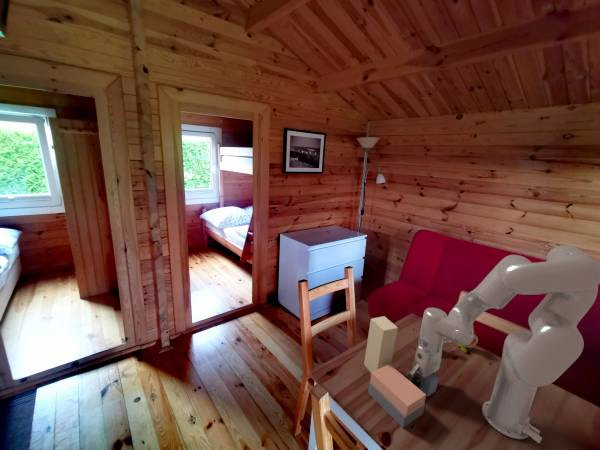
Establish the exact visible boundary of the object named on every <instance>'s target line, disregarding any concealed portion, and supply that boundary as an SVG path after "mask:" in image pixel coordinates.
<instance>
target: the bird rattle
mask: <svg viewBox="0 0 600 450" xmlns="http://www.w3.org/2000/svg"><path fill="white" fill-rule="evenodd" d="M473 332H474V338H473V341H472V342H471V343H470V344H468V345H459V344H456V347H461V348H460V350H461V351H462V352H463V353H464V352H465V353H467V348H469V349H472V348H473V347H475V346H476V345H477V344H478V342H479V338H478V336H477V335H476V333H475V328H473Z"/></svg>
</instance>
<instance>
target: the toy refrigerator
mask: <svg viewBox="0 0 600 450" xmlns="http://www.w3.org/2000/svg"><path fill="white" fill-rule="evenodd" d="M398 331H399V329H398V326H396V325H395V323H393V322H392V321H391V320H389V319H388V318H387V317H386V316H385V315H383V316H379V317H378V316H377V317H373V318H370V322H369V329H368V337H367V343H366V349H365V354H364V355H365V356H364V363H363V365H364V366H365V368H366V369H367V370H368V372H369V373H370V374H371V373H372V372H374V371H376V370H378V369H380V368H382V367H384V366H386V365H388V364H390V365H391V366H392V364H393V363H392V362H393V358H394V351H395V347H396V341H397V335H398Z"/></svg>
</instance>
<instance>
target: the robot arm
mask: <svg viewBox="0 0 600 450" xmlns="http://www.w3.org/2000/svg"><path fill="white" fill-rule="evenodd" d="M599 285H600V263H599V262H597V261H596V260H595V259H594V258H593V257H591V256H589V255H588V254H587V253H586V252H584V251H583V250H581V249H580V248H578V247H576V246H573V245H568V244H566V245H564V244H563V245H562V244H561V245H558V246H555V247H553V248H552V249H551V250H550V251H549V252H548V253H547V254H546V261H539V262H532V261H531V260H529V259H528V258H526V257H525V256H522V255H519V254H510V255H507V256H505V257H504V258H502V259H501V260H500V261H499V262H498V263H497V264H496V265H495V266H494V267H493V269H492V270H491V271H490V272H489V273H488V274H487V275H486V276H485V278H483V280H482V281H481V282H480V283H479V284H478V285H477V287H475V288H474V289H473V290H471V291H469V293H468V292H467V294H465V295H464V296H463V297H462V298H460V300H459V301H457V303H456V304H455V305H454V307H452V309H451V310H450V311H449V313H448V315H447V312H445V311H444V310H442V309H440V308H437V307H427V308H426V309H425V310H424V311H423V316H422V320H421V321H422V322H421V326H420V332H419V337H418V343H417V344H418V346H417V348H416V350H415V354H414V359H413V363H412V367H413V369H412V370H411V372H410V371H409V373H410V375H411V377H412V381H411V382H412V383H413V384H414V385H415V386H416V387H418V388H419V389H420V385H421V381H420V380H421V378H422V377H423V378H425V377H427V376H429V375H431V374H434V375H436V372H437V371H439V369H440V368H441V362H442V356H443V345H444V344H443V340H444V337H445V338H447V339H448V340H450V341H452V342H451V343H454V344H456V345H457V344H459V345H468V344H470V343H471V342H472V341H473V339H474V333H475V332H473V329H474V322H475V321H476V320H477V319H478V318H479V317H480V316H481V315H482V314H483V313H484V312H486V311H487V310H490V309H496V310H502V309H503V308H505V306H506V305H508V303H509V302H510V301H512V299H514V298H515V296H517V294H518V295H522V296H523V295H528V296H529V295H530V296H531V295H532V296H533V295H536V296H537V295H545V297H543V299H542V300H541V301H540V303H539V304H538V305H537V306H536V307H535V308H534V309H533V311H531V313H530V314H529V316H528V321H527V322H528V326H529V328H530V331H528V330H521V329H520V330H519V329H518V330H515V331H512V332H510V333H509V334H507V336H506V338H505V340H504V344H503V349H502V355H501V361H500V365H499V368H498V371H497V376H496V378H495V382H494V385H493V390H492V393H491V397H490V400H487V401H485V402H484V403H483V404H482V406H481V413H482V415H483V417H484V419H485V420H486V421H487V423H488V424H489V425H490V426H491V427H492V428H494V429H495V430H497V431H498V432H499V433H501V434H503V435H504V436H507V437H509V438H511V439H515V440H525V439H527V438H529V437H530V438H531V439H532V440H534V441H535V442H536V443H538V445H539V444H540V443H541V442H542V440H543V437H542V436H541V435H540V433H541V430H539V429H538V428H536V427H535V426H533V425H532V423H530V421H531V417H530V416H529V413H530V411H531V408H532V405H533V401H534V398H535V395H536V393H537V389H538V388H540V387H546V386H549V385H551V384H552V383H554V382H555V381H557V380H558V379H559V378H560V376H562V375H563V374H564V373H565V372H566V371H567V370H568V368H570V367H571V366H572V364H574V363H575V362H576V361H577V359H579V357H580V356H581V354H582V352H583V349H584V345H585V344H584V338H583V336H582V334H581V332H580V331H579V329H578V328H577V326H578V324H579V323H580V321H581V320H583V317H584V316H585V315H586V314H587V313H588V312H589V311H590V309H591V308H592V306H593V305H594V303H595V301H596V299H597V296H598V292H599V291H598V290H599ZM418 370H419V371H420V372H419V371H418ZM416 373H418V374H419V377H417V376H416Z"/></svg>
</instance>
